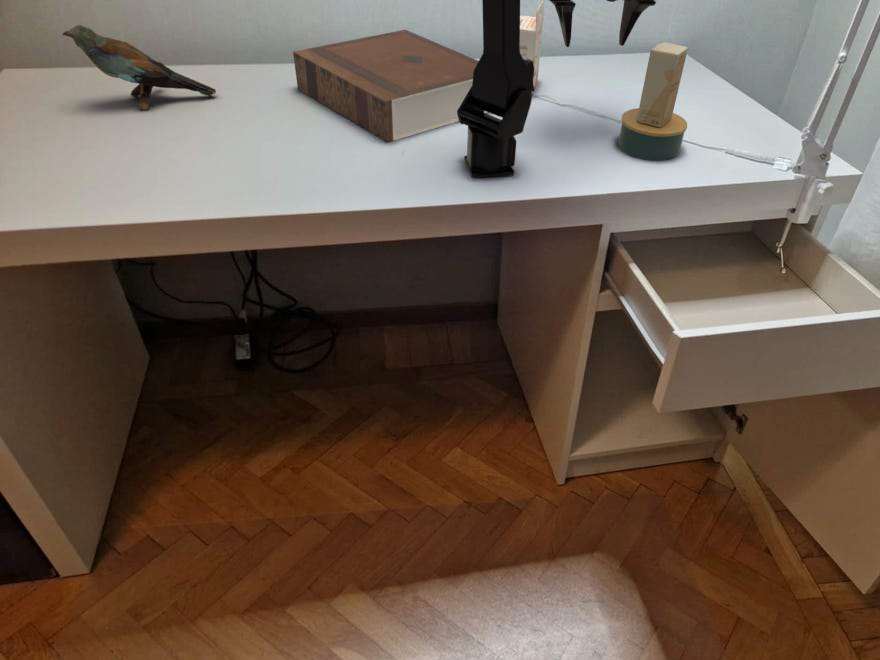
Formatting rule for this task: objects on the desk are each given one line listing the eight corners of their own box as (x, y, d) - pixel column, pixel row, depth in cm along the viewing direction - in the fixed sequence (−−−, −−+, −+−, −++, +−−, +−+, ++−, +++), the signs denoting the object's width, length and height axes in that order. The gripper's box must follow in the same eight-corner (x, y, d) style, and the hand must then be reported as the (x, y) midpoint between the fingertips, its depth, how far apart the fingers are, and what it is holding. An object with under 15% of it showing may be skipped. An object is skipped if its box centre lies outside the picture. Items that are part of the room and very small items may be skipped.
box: (660, 129, 107) (677, 55, 100) (635, 122, 109) (649, 48, 102) (672, 118, 111) (689, 46, 103) (647, 112, 112) (662, 40, 105)
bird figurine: (216, 80, 124) (126, -23, 110) (218, 101, 117) (122, -6, 103) (159, 123, 126) (62, 26, 112) (158, 146, 119) (55, 47, 105)
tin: (631, 162, 108) (636, 135, 105) (607, 135, 116) (612, 109, 113) (691, 159, 110) (698, 131, 107) (664, 132, 118) (670, 106, 115)
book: (387, 142, 110) (385, 101, 105) (297, 89, 125) (292, 51, 121) (500, 108, 122) (502, 71, 118) (406, 64, 138) (405, 29, 133)
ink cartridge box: (512, 79, 134) (518, -4, 124) (537, 82, 133) (546, -1, 124) (505, 94, 128) (510, 8, 118) (531, 98, 127) (539, 11, 117)
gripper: (567, -57, 92) (553, 64, 102) (694, -56, 96) (669, 60, 106) (543, -73, 100) (533, 41, 110) (661, -71, 104) (640, 38, 114)
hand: (594, 45), depth 110 cm, fingers open, 9 cm apart
